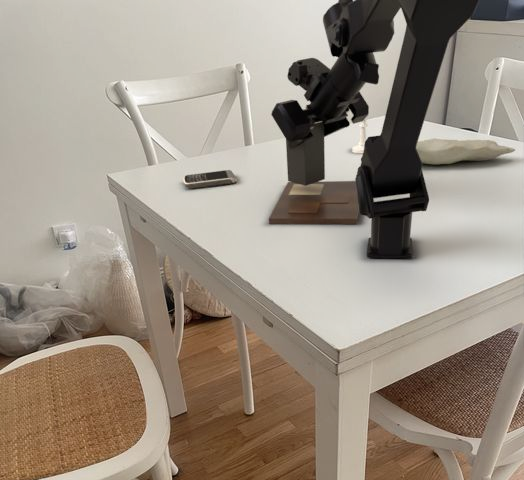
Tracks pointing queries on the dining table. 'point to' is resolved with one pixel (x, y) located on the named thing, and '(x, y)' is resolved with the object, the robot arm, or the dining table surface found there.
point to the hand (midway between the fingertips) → (300, 143)
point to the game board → (317, 204)
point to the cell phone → (209, 179)
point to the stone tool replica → (458, 150)
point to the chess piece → (361, 138)
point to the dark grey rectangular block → (307, 158)
